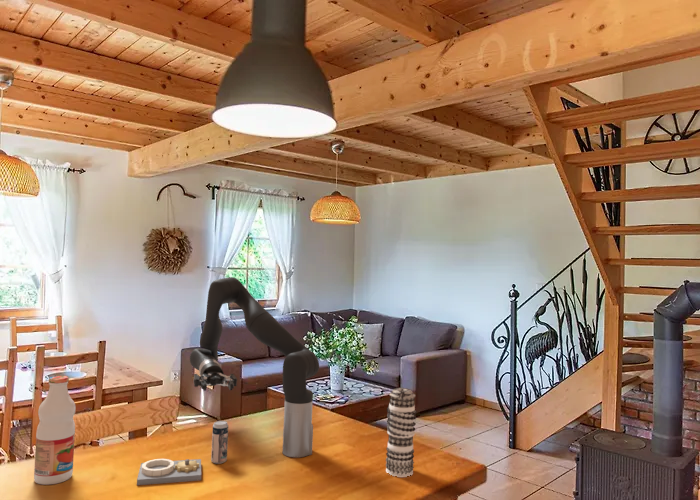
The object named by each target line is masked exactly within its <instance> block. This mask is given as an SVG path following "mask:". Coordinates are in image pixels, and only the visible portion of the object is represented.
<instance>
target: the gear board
mask: <svg viewBox="0 0 700 500" xmlns="http://www.w3.org/2000/svg"><path fill="white" fill-rule="evenodd" d="M197 481H202V459H201V458H198V459H197V458H196V459H185V460H184V459H183V460H179V459H178V460H171V459H169V458H156V459H151V460H147V461H145V462H141V463H140V467H139V470H138V474H137V479H136V486H144V485H145V486H146V485H155V484H157V485H158V484H168V483H170V484H171V483H181V482H183V483H185V482H197Z"/></svg>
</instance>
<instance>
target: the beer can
mask: <svg viewBox="0 0 700 500" xmlns="http://www.w3.org/2000/svg"><path fill="white" fill-rule="evenodd" d="M211 434H212V435H211V455H210V456H211V458H210V461H211V462H212V463H213V464H217V465H221V464H224V463H225V462H227V460H228V447H229V446H228V444H229V443H228V442H229V423H228V422H227V421H226V420H216V421H214V422H213V425H212V432H211Z"/></svg>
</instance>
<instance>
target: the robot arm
mask: <svg viewBox="0 0 700 500" xmlns="http://www.w3.org/2000/svg"><path fill="white" fill-rule="evenodd" d="M207 293H208V294H207V302H206V312H205V319H204V320H205V321H204V325H203V328H202V332H201V335H200V339H199V345H200V347H202V348H194V349H193V350H192V351H191V353H190V355H189V362H190V365H191V366H192V368H194V369H195V370H197V371H199V373H194V374H193V381H192V382H193V386H194V387H195V388H196V387H197V388H198V387H200V388H201V389H202V390H203V391H207V387H209V386H210V387H214V386H217V385H218V386H222V387H227V388H228V389H229V391H232V390H233V389H235V387H237V385H238V384H237V383H238V378H237V376H236V375H235V374H234V373H230V374H229V375H226V373H225V374H224V371H223V369H222V367H221V364H220V363H219V362H218V361H219V354H218V352H219V351H218V350H219V349H218V347H219V343H220V339H221V336H222V333H223V323H222V320H221V317H220V312H221V311H220V310H221V308H222V306H223V304H229V303H234V304H236V305H237V306H238V307H239V308H240V310H242V312H243V316H244V322H245V326H246V328H247V330H248V331H249V332H250V333H251V334H252V336H254V337H255V338H256V339H257V340H258V341H259V342H260V343H262V344H264V345H266V346H267V347H269V348H271V349H273V350H276V351H278V352H280V353H281V354H282V355H284V357H285V358H284V360H283V364H282V391H283V395H284V409H283V434H282V454H283V455H284V456H285V457H290V458H303V457H307V456H311V455H313V439H314V425H313V422H312V421H313V400H314V392H313V391H312V390H310V389H308V388H307V379H308V378H312V377H314V376H316V375H317V373H319V370H320V362H319V358H318V357H317V356H316V354H315V353H314V352H313V351H312V350H311V349H309V348H308V347H307V346H305V345H304V344H303V343H302V342H300V341H299V340H298V339H297V338H296V337H294V336H293V335H292V334H291V333H290V331H288V330H287V329H286V328H285V327H284V326H283V325H281V323H280V322H279V321H278V320H277V319H276V318H275V317H274V316H273V315H272V314H271V313H270V312H269V311H268V310H266V309H265V308H264V307H263V306H262V305H261V304H260V302H258V301H257V299H255V297H254V296H253V295H252V294H251V293H250V292H249V290H248V289H247V288H246V287H245V285H244V284H243V283H242V282H241V281H240V280H239V279H238V278H236V277H233V276H230V277H223V278H218V279H214V280H213V281H212V282H211V283H210V284H209V289H208V292H207Z"/></svg>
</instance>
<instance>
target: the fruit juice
mask: <svg viewBox="0 0 700 500" xmlns="http://www.w3.org/2000/svg"><path fill="white" fill-rule="evenodd" d="M69 379H70V378H69V376H67V375H54V376H50V377H49V378H48V385H49V389H48V392H47V394H46V397H45V399H44V400H42V402H41V403H40V405H39V406H38V411H37V414H38V419H39V423H38V425H37V428H36V434H35V435H36V436H35V450H34V451H35V454H34V467H33V468H34V469H33V470H34V472H33V479H34V482H35V483H36V484H37V485H47V486H50V485H57V484H60V483H63V482H66V481H69V480H70V479H71V478H72V476H73V471H74V453H75V437H76V434H75V433H76V431H75V430H76V424H75V420H74V415H75V414H76V403H75V401H74V400H73V399H72V397H71V395H70V393H69V389H68V383H69Z"/></svg>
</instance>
